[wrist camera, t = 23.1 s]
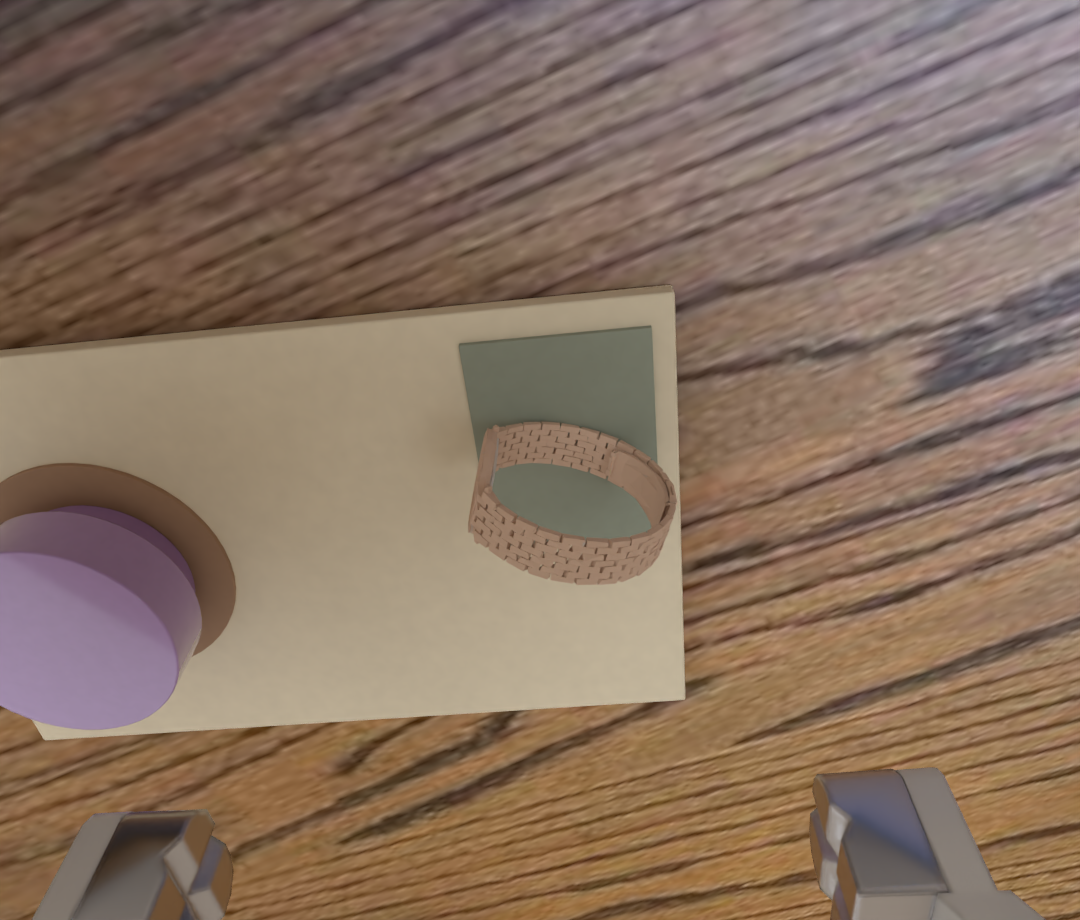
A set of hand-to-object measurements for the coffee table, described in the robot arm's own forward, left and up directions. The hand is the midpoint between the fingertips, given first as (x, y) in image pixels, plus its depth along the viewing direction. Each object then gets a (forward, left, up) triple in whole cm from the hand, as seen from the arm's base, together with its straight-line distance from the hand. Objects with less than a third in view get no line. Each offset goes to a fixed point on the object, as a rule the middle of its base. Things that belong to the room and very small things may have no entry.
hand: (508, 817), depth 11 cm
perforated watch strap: (+1, +1, -12) cm, 12 cm away
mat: (+4, -7, -13) cm, 15 cm away
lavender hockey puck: (+5, -13, -12) cm, 18 cm away
